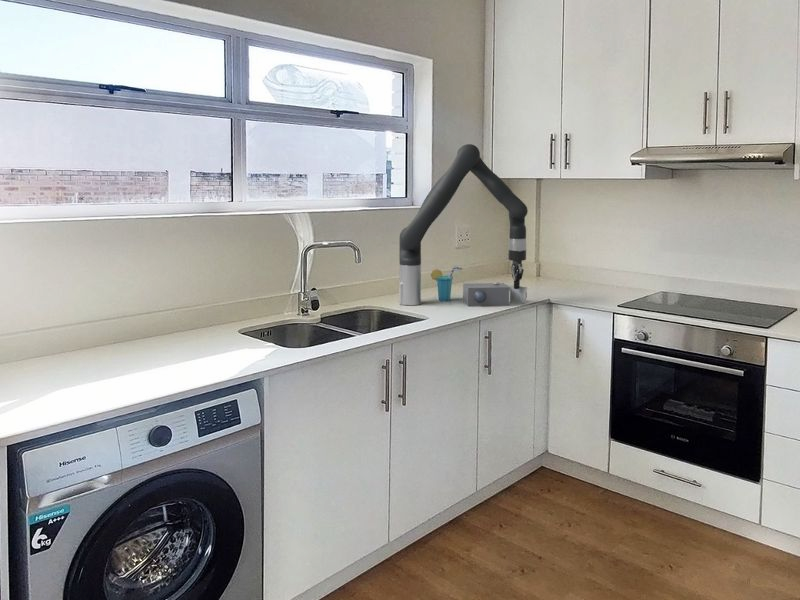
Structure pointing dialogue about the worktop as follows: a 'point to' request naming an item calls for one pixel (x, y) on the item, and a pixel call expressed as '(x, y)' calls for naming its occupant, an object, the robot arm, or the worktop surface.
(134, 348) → the worktop surface
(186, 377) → the worktop surface
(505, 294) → the grey knobbed box
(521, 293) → the side door
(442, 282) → the cup
